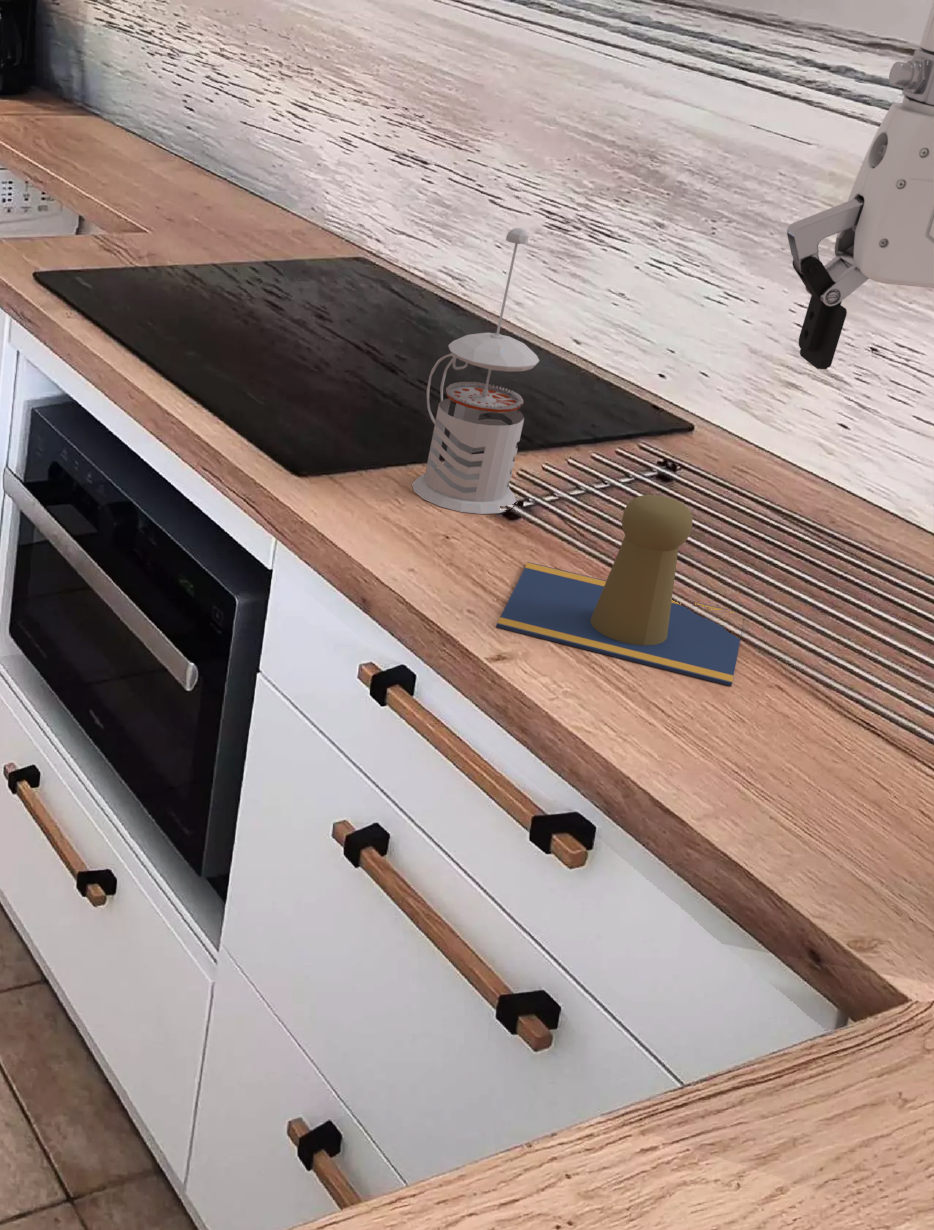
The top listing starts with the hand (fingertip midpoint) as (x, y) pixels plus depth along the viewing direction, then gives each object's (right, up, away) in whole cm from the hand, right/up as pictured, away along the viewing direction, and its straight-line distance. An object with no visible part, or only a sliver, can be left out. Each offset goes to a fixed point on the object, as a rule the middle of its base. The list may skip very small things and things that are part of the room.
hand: (887, 368), depth 109 cm
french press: (-15, -3, +53) cm, 56 cm away
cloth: (-7, -16, +30) cm, 35 cm away
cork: (-7, -16, +29) cm, 34 cm away
